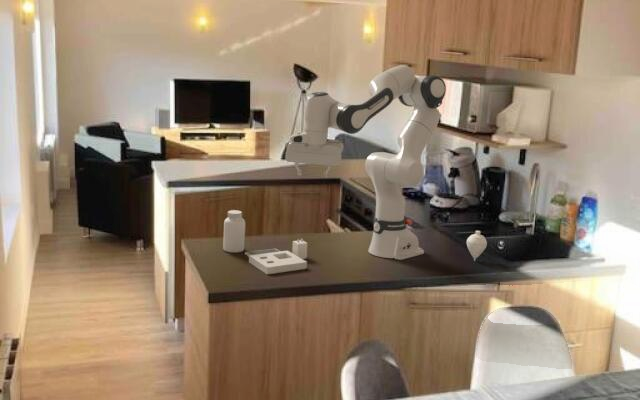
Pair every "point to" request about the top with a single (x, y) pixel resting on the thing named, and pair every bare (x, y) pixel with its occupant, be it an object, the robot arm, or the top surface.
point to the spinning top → (476, 244)
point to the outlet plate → (277, 262)
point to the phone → (261, 252)
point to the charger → (300, 248)
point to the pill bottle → (234, 232)
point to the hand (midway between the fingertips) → (312, 176)
